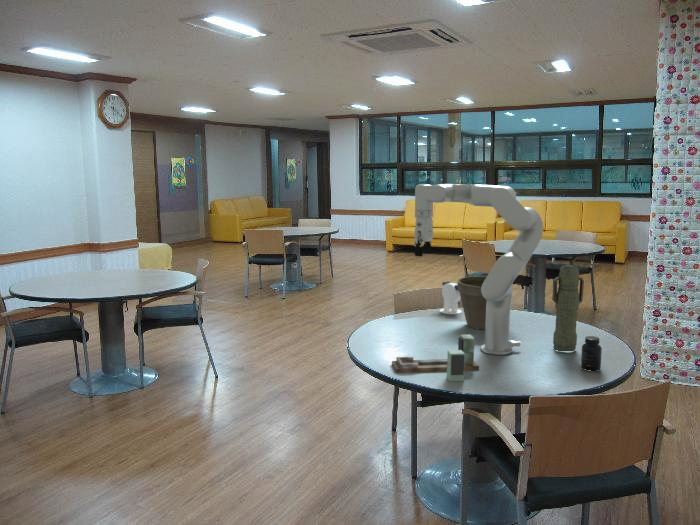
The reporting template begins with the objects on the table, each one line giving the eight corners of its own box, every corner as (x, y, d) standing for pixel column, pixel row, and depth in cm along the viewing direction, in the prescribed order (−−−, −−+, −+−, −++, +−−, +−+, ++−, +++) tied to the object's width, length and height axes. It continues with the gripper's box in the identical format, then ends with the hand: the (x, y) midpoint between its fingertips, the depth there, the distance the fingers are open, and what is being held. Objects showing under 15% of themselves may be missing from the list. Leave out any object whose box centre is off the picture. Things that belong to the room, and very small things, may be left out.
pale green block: (464, 381, 207) (465, 354, 205) (450, 382, 206) (451, 354, 204) (460, 376, 211) (461, 349, 210) (446, 377, 211) (447, 350, 209)
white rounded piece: (467, 312, 304) (468, 284, 301) (450, 315, 298) (451, 286, 295) (451, 307, 314) (452, 280, 311) (435, 310, 308) (435, 282, 306)
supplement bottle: (584, 364, 224) (586, 334, 222) (602, 368, 220) (605, 337, 218) (578, 369, 219) (580, 338, 217) (597, 373, 215) (599, 341, 213)
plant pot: (501, 336, 261) (503, 288, 258) (448, 328, 274) (449, 282, 270) (516, 323, 283) (518, 279, 279) (466, 317, 295) (467, 274, 292)
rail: (471, 361, 227) (472, 332, 225) (479, 369, 218) (480, 339, 217) (391, 364, 224) (392, 335, 222) (396, 372, 215) (396, 342, 213)
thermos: (545, 347, 246) (550, 264, 240) (572, 346, 247) (577, 263, 242) (555, 353, 237) (560, 267, 232) (583, 352, 239) (589, 267, 233)
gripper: (424, 216, 238) (423, 258, 241) (439, 213, 253) (438, 252, 256) (407, 215, 242) (406, 256, 244) (422, 212, 257) (422, 251, 260)
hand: (422, 254), depth 250 cm, fingers open, 9 cm apart
